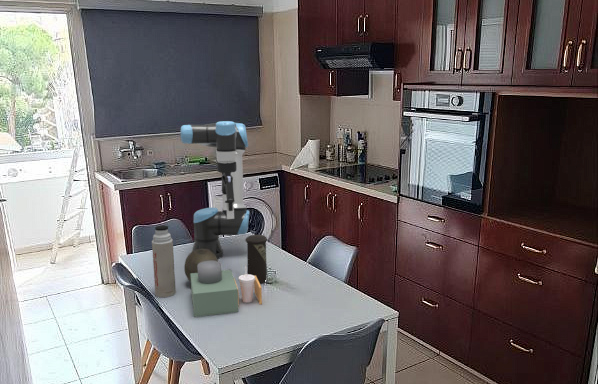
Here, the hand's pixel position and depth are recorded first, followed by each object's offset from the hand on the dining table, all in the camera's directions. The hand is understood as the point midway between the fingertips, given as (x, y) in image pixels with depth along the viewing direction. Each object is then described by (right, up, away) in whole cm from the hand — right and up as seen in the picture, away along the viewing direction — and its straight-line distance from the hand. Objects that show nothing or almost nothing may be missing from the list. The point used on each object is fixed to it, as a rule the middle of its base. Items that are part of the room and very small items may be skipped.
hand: (228, 214), depth 196 cm
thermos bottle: (-26, -32, +2) cm, 41 cm away
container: (+10, -29, +15) cm, 34 cm away
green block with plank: (0, -34, -5) cm, 34 cm away
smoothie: (+8, -34, -4) cm, 35 cm away
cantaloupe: (-13, -30, +12) cm, 35 cm away
